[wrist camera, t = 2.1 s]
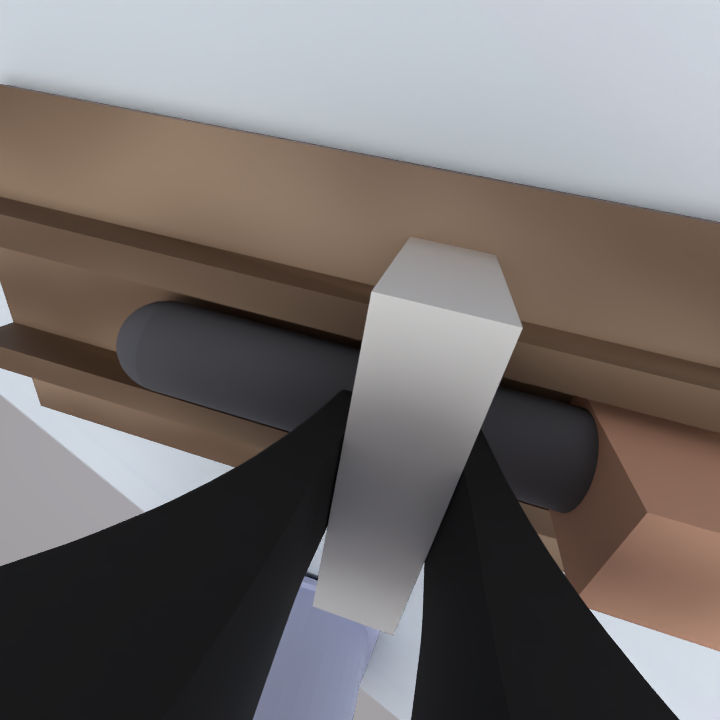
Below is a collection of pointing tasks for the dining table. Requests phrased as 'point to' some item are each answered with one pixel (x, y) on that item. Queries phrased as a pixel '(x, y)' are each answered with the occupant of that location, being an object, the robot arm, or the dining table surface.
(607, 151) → the dining table surface
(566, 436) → the grey slider with block
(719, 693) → the dining table surface
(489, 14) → the dining table surface
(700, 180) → the dining table surface
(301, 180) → the channel deck
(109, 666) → the robot arm
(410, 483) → the grey bracket
